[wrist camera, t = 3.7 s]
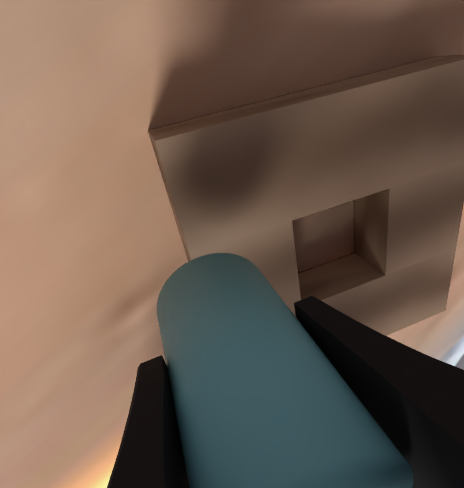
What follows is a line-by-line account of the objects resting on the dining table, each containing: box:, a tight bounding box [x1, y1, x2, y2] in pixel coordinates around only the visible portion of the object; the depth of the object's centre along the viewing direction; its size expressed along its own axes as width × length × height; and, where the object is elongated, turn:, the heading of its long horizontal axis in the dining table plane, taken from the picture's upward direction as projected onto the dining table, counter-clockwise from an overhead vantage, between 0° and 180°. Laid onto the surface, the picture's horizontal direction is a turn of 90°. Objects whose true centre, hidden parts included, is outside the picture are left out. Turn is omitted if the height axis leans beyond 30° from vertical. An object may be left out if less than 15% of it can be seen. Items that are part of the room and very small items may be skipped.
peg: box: [157, 253, 413, 488], centre depth 9 cm, size 4×4×7 cm
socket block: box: [148, 55, 464, 336], centre depth 19 cm, size 16×16×3 cm
